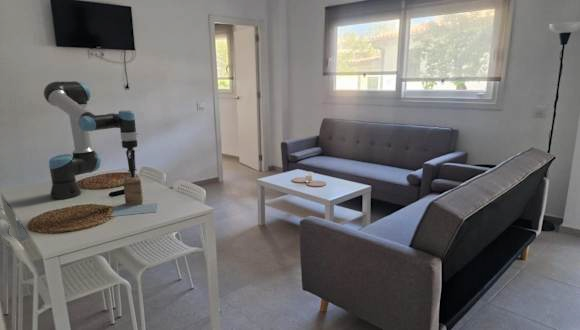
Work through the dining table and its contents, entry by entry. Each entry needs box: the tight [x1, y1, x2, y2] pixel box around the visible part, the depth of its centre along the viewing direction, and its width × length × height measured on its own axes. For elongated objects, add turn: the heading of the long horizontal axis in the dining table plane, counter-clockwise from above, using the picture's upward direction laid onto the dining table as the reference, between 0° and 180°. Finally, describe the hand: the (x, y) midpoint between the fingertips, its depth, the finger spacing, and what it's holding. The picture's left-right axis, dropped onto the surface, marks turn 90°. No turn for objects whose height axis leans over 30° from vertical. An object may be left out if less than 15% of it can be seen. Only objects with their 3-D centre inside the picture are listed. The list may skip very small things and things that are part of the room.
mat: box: [111, 202, 158, 217], centre depth 186 cm, size 14×24×1 cm, turn 107°
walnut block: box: [122, 178, 144, 206], centre depth 195 cm, size 5×8×13 cm, turn 107°
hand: (133, 182), depth 198 cm, fingers closed
